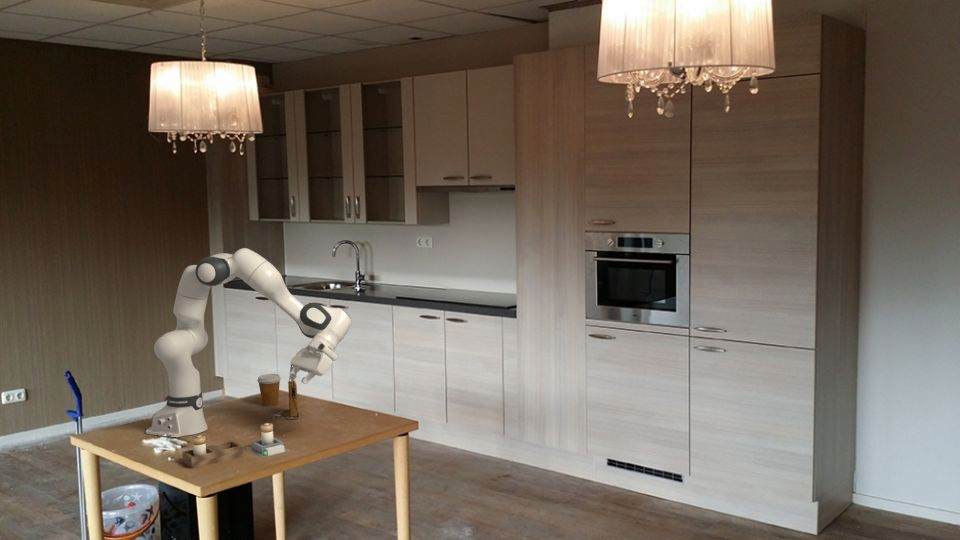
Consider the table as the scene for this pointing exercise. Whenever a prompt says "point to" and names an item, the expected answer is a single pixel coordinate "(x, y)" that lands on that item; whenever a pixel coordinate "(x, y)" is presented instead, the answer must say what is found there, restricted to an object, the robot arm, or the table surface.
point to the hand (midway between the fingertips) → (297, 380)
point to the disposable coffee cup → (269, 388)
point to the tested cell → (267, 434)
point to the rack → (214, 454)
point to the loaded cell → (199, 445)
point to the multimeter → (292, 398)
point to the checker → (268, 448)
